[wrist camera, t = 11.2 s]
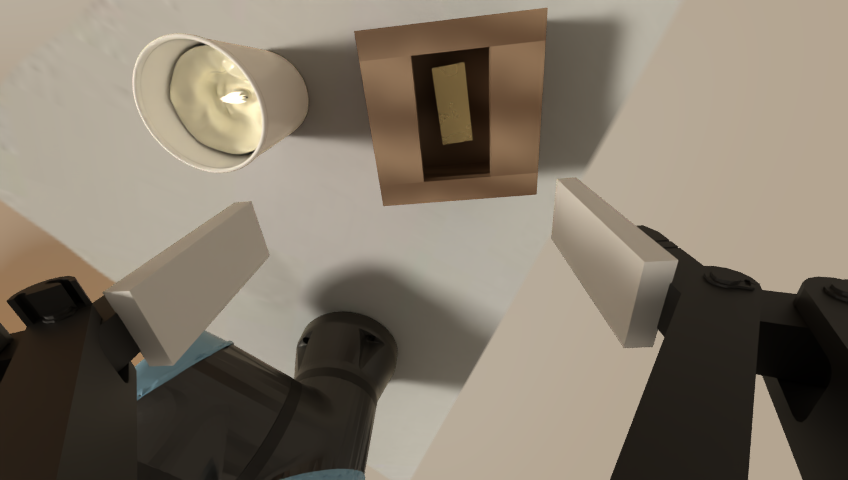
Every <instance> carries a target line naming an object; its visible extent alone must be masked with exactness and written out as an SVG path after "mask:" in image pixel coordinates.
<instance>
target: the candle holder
mask: <svg viewBox="0 0 848 480" xmlns="http://www.w3.org/2000/svg"><path fill="white" fill-rule="evenodd" d="M133 93H134V98H135V102H136V106H137V108H138V111H139V114H140V116H141V118H142V120H143V122H144V123H145V125H146V127H147V128H148V130H149V131H150V133H151V134H152V135H153V137H154V138H155V139H156V140H157V141H158V143H159V144H160V145H161V146H162V147H163V148H164V149H166V150H167V151H168V152H169V153H170V154H172V155H173V156H174V157H176V158H177V159H179V160H180V161H182V162H184V163H185V164H187V165H189V166H192V167H194V168H197V169H200V170H203V171H208V172H215V173H225V172H232V171H235V170H238V169H241V168H243V167H245V166H246V165H248V164H249V163H251V162H252V161H253V160H254V159H255V158H256V157H258V156H259V155H261V154H262V153H264V152H265V151H267V150H268V149H269V148H271V147H272V146H274V145H275V144H277V143H278V142H280V141H281V140H283V139H284V138H286V137H287V136H288V135H290V134H291V133H293V132H294V131H295V130H296V129H297V128H299V126H300V125H301V124H302V123H303V121H304V119H305V117H306V115H307V111H308V105H309V99H308V92H307V88H306V85H305V83H304V80H303V78H302V77H301V75H300V73H299V72H298V71H297V69H296V68H295V67H294V66H293V65H292V64H291V63H290V62H289V61H288V60H286V59H285V58H283V57H282V56H280V55H278V54H276V53H273V52H270V51H267V50H262V49H258V48H253V47H248V46H242V45H237V44H232V43H227V42H221V41H216V40H211V39H206V38H203V37H200V36H196V35H191V34H183V33H176V34H168V35H164V36H161V37H159V38H157V39H155V40H153V41H152V42H150V43H149V44H148V45H147V46H146V47H145V48H144V49H143V50H142V51H141V53H140V55H139V56H138V58H137V60H136V63H135V66H134V71H133Z"/></svg>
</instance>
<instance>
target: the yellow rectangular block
mask: <svg viewBox="0 0 848 480" xmlns="http://www.w3.org/2000/svg"><path fill="white" fill-rule="evenodd" d="M432 74H433V81H434V88H435V95H436V101H437V108H438V115H439V122H440V129H441V135H442V142H443V145H447V144H453V143H459V142H464V141H470V140H473V138H472V129H471V120H470V110H469V101H468V91H467V82H466V73H465V63H464V62H460V63H455V64H450V65H444V66H439V67H434V68H432Z"/></svg>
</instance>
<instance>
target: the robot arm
mask: <svg viewBox="0 0 848 480" xmlns="http://www.w3.org/2000/svg"><path fill="white" fill-rule="evenodd" d="M551 238H552V240H553V242H554V243H555V245H556V246H557V248H558V249H559V251H560V252H561V254H562V255H563V257H564V258H565V260H566V261H567V263H568V264H569V266H570V267H571V269H572V270H573V272H574V273H575V275H576V277H577V278H578V280H579V281H580V283H581V284H582V286H583V287H584V289H585V290H586V292H587V293H588V295H589V296H590V298H591V299H592V301H593V302H594V304H595V305H596V307H597V308H598V310H599V311H600V313H601V314H602V316H603V317H604V319H605V320H606V322H607V323H608V325H609V326H610V328H611V329H612V331H613V332H614V334H615V335H616V337H617V338H618V340H619V342H620V343H621V345H622V346H623V348H635V347H636V348H637V347H653V345H654V341H655V338H656V334H657V331H658V330H659V331H660V332H661V333H662V335H663V336H664V340H663V343H662V345H661V348H660V351H659V353H658V356H657V358H656V361H655V364H654V366H653V369H652V372H651V374H650V377H649V379H648V382H647V384H646V387H645V390H644V392H643V395H642V398H641V400H640V403H639V406H638V408H637V411H636V413H635V416H634V418H633V421H632V424H631V427H630V429H629V432H628V434H627V437H626V439H625V442H624V445H623V447H622V450H621V452H620V455H619V458H618V460H617V463H616V465H615V468H614V471H613V473H612V476H611V479H610V480H748V471H749V457H750V445H751V431H752V418H753V403H754V392H755V391H754V390H755V378H756V374H758V375H762V376H763V378H764V381H765V384H766V386H767V389H768V392H769V394H770V397H771V399H772V402H773V404H774V407H775V410H776V412H777V415H778V417H779V420H780V423H781V425H782V428H783V430H784V433H785V435H786V438H787V440H788V443H789V446H790V448H791V451H792V453H793V456H794V459H795V461H796V464H797V466H798V469H799V471H800V474H801V476H802V479H803V480H848V280H846V279H845V280H842V279H837V278H830V277H813V278H808V279H806V280H805V281H804V282H803V283H802V285H801V287H800V289H799V291H798V293H797V294H791V293H783V292H773V291H766V290H762V289H761V286H760V284H759V283H758V282H756V281H755V280H754V279H753V278H751V277H749V276H747V275H745V274H743V273H741V272H738V271H734V270H731V269H728V268H722V267H716V266H703V265H702V264H700V263H699V262H698V261H696V260H695V259H694V258H693V257H691V256H690V255H689V254H687V253H686V252H685V251H683V250H682V249H681V248H678V246H677V245H675V244H674V243H673V242H671V241H669V240H668V239H667V238H666V237H664V236H663V235H662V234H661V233H659V232H658V231H655V230H653V229H650V228H648V227H645V226H643V225H641V226H635V225H634V224H633V223H632V222H630V221H629V220H628V219H627V218H625V217H624V216H623V215H622V214H620V213H619V212H618V211H617V210H615V209H614V208H613V207H612V206H611V205H609V204H608V203H607V202H606V201H604V200H603V199H602V198H601V197H599V196H598V195H597V194H596V193H594V192H593V191H592V190H591V189H590V188H588V187H587V186H586V185H584V184H583V183H582V182H581V181H580V180H578V179H577V178H562V179H557V182H556V193H555V203H554V214H553V225H552V235H551ZM269 256H270V255H269V252H268V249H267V246H266V243H265V240H264V237H263V234H262V231H261V228H260V225H259V223H258V220H257V217H256V214H255V211H254V208H253V205H252V202H251V201H250V202H236V203H233V204H232V205H230V206H229V207H227V208H226V209H225V210H223V211H222V212H220V213H219V214H217V215H216V216H214V217H213V218H211V219H210V220H208V221H207V222H205V223H204V224H202V225H201V226H199V227H198V228H197V229H195V230H194V231H192V232H191V233H189V234H188V235H186V236H185V237H183V238H182V239H180V240H179V241H177V242H176V243H174V244H173V245H171V246H170V247H169V248H167V249H166V250H164V251H163V252H161V253H160V254H158V255H157V256H155V257H154V258H152V259H151V260H149V261H148V262H146V263H145V264H144V265H142V266H141V267H139V268H138V269H136V270H135V271H133V272H132V273H130V274H129V275H127V276H126V277H124V278H123V279H121V280H120V281H118V282H117V283H116V284H114V285H113V286H111V287H110V288H108V289H107V290H105V291H104V292H103V294H104V296H102V297H101V298H99V299H98V300H96V301H95V302H94V303H92V302H91V301H90V299H89V298H88V296H87V295H86V293H85V292H84V290H83V289H82V287H81V286H80V284H79V283H78V282H77V280H76V278H75V277H72V276H65V277H58V278H54V279H50V280H46V281H43V282H40V283H38V284H35V285H32V286H30V287H28V288H26V289H24V290H21V291H20V292H18V293H16V294H14V295H13V296H12V297H10V298H9V299H8V300H7V303H8V304H9V305H10V306H11V308H12V309H13V310H14V311H15V313H16V314H17V315H18V316H19V317H20V319H21V320H22V321H23V322H24V324H25V325H26V326H27V327H26V330H25V331H20V332H16V333H12V334H9V332H8V331H7V330H6V329H5V328H4V327H3V326H2V324H1V323H0V480H365V475H364V474H365V468H366V462H367V457H368V451H369V446H370V440H371V434H372V429H373V423H374V417H375V411H376V406H377V402H378V400H379V398H380V396H381V394H382V393H383V391H384V389H385V388H386V386H387V384H388V382H389V381H390V379H391V377H392V375H393V373H394V371H395V367H396V361H397V346H396V343H395V340H394V338H393V337H392V335H391V334H390V333H389V331H388V330H387V329H386V328H385V327H383V326H382V325H381V324H380V323H378V322H376V321H375V320H373V319H371V318H369V317H366V316H363V315H360V314H356V313H350V312H334V313H329V314H325V315H322V316H320V317H318V318H316V319H314V320H313V321H312V322H310V323H309V324H308V325H307V327H306V328H305V330H304V331H303V333H302V335H301V337H300V339H299V342H298V345H297V349H296V362H295V375H294V379H293V378H291V377H290V376H288V375H286V374H284V373H282V372H281V371H279V370H277V369H275V368H274V367H272V366H270V365H268V364H266V363H265V362H263V361H261V360H259V359H258V358H256V357H254V356H252V355H250V354H249V353H247V352H245V351H243V350H242V349H240V348H238V347H236V346H234V343H233V342H232V341H225V340H223V339H221V338H219V337H217V336H215V335H213V334H211V333H209V332H207V331H205V329H206V328H207V327H208V326H209V324H210V323H211V322H212V321H213V320H214V319H215V318H216V316H217V315H218V314H219V313H220V312H221V311H222V310H223V308H224V307H225V306H226V305H227V304H228V303H229V302H230V300H231V299H232V298H233V297H234V296H235V295H236V294H237V293H238V291H239V290H240V289H241V288H242V287H243V286H244V285H245V283H246V282H247V281H248V280H249V279H250V278H251V277H252V275H253V274H254V273H255V272H256V271H257V270H258V269H259V267H260V266H261V265H262V264H263V263H264V262H265V261H266V259H267V258H268V257H269ZM139 352H141V353H142V355H143V357H144V358H145V359H143V360H142V361H141V362H140V363H139V364H138V365H136V366H135V367H134V365H133V364H132V362H131V360H132V359H133V358H134V357H135V356H136V355H137V354H138V353H139Z"/></svg>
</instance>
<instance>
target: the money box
mask: <svg viewBox="0 0 848 480" xmlns="http://www.w3.org/2000/svg"><path fill="white" fill-rule="evenodd" d="M547 9H548V8H541V9H533V10H525V11H517V12H508V13H500V14H492V15H484V16H476V17H468V18H459V19H451V20H443V21H435V22H427V23H418V24H410V25H402V26H394V27H386V28H377V29H369V30H361V31H354V33H355V39H356V45H357V51H358V57H359V63H360V69H361V75H362V81H363V87H364V93H365V99H366V105H367V111H368V117H369V123H370V129H371V135H372V141H373V147H374V153H375V159H376V165H377V171H378V177H379V183H380V189H381V195H382V201H383V206H390V205H404V204H417V203H430V202H443V201H456V200H469V199H483V198H496V197H509V196H522V195H535V194H537V177H538V161H539V144H540V127H541V110H542V93H543V76H544V60H545V43H546V26H547ZM460 62H464V63H465V73H466V82H467V91H468V101H469V110H470V120H471V129H472V138H473V140H470V141H464V142H459V143H453V144H447V145H443V142H442V135H441V129H440V122H439V115H438V108H437V101H436V95H435V88H434V81H433V74H432V68H434V67H439V66H444V65H450V64H455V63H460Z"/></svg>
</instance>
